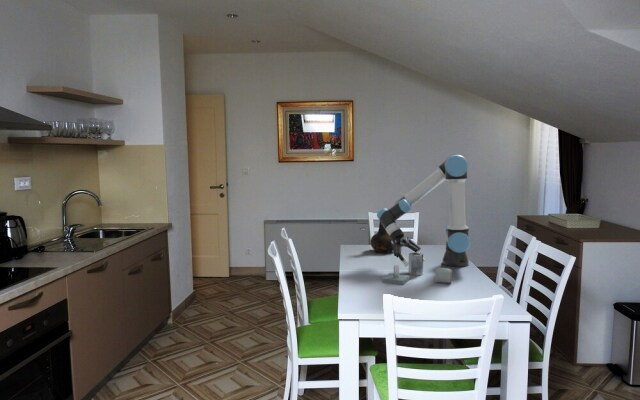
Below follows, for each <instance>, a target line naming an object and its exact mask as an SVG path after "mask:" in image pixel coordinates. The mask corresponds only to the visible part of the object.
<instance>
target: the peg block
mask: <svg viewBox="0 0 640 400" xmlns="http://www.w3.org/2000/svg"><path fill="white" fill-rule="evenodd" d="M410 280H411V275H410V274H408V275H407V274H400V265H398V264H394V266H393V273H388V274H387V275H385V276H384V277H383V278H382V283H387V284H394V285H402V286H404V285H406V283H408V282H409V281H410Z"/></svg>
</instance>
